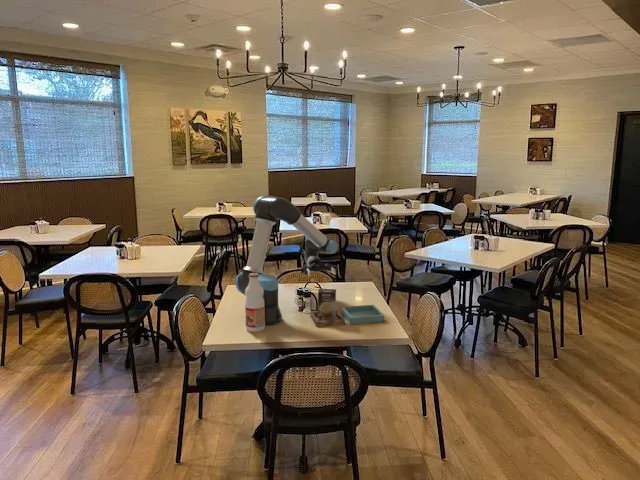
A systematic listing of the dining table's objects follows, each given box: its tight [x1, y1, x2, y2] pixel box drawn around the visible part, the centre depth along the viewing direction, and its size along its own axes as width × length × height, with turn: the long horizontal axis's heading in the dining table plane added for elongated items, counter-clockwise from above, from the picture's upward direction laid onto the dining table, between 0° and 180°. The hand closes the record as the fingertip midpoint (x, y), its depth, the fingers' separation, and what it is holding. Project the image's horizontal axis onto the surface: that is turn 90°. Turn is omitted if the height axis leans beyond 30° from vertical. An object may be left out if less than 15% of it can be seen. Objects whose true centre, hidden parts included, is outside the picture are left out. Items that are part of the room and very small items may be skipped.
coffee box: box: [317, 288, 337, 321], centre depth 256 cm, size 9×6×16 cm
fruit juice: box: [244, 273, 266, 333], centre depth 243 cm, size 9×9×28 cm
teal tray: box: [340, 304, 386, 326], centre depth 261 cm, size 18×18×4 cm
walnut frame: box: [309, 309, 346, 328], centre depth 257 cm, size 14×16×2 cm
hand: (322, 273), depth 264 cm, fingers open, 13 cm apart
